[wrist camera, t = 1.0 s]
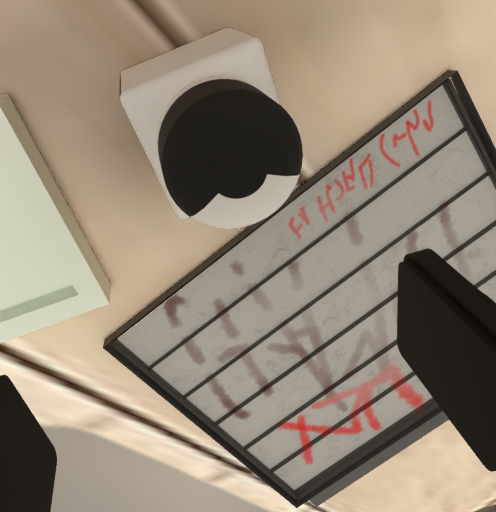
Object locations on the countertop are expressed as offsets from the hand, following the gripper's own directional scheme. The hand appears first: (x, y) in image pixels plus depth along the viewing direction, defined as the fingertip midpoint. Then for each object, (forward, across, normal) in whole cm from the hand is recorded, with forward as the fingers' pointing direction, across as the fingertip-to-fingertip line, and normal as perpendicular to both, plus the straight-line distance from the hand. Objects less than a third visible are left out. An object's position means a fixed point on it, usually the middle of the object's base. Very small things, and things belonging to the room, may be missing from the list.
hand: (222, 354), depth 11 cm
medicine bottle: (+22, -2, 0) cm, 22 cm away
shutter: (+22, -13, +22) cm, 34 cm away
